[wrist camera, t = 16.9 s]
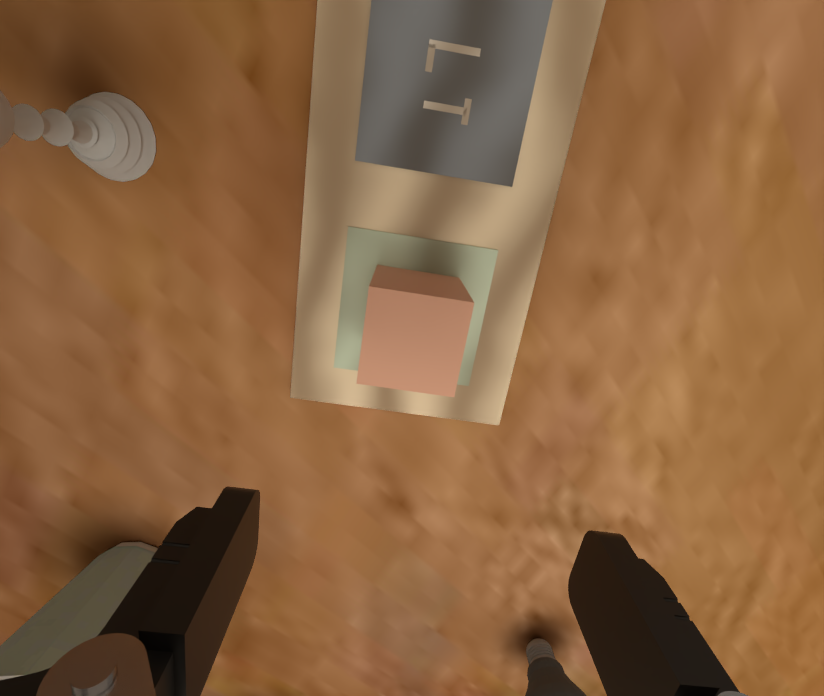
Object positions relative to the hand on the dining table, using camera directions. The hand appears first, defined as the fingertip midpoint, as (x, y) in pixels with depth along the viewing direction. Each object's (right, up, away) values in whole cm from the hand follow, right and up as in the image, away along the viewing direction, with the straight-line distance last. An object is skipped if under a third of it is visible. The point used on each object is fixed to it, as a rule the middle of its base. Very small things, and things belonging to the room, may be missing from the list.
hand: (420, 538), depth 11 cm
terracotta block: (0, +7, +20) cm, 21 cm away
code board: (+1, +14, +18) cm, 23 cm away
